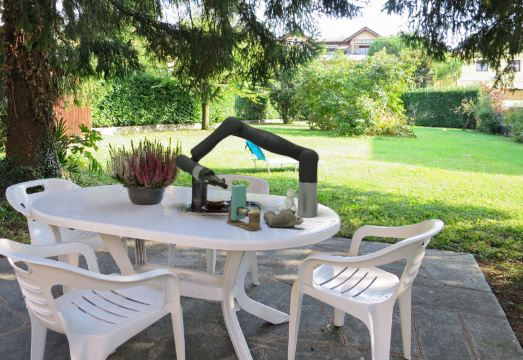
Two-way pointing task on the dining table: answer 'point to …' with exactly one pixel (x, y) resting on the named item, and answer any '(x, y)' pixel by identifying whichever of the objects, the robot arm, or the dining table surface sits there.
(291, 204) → the seated beast figurine
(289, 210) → the pipe
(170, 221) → the dining table surface
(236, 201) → the teal flat board
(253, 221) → the wooden dowel plank
